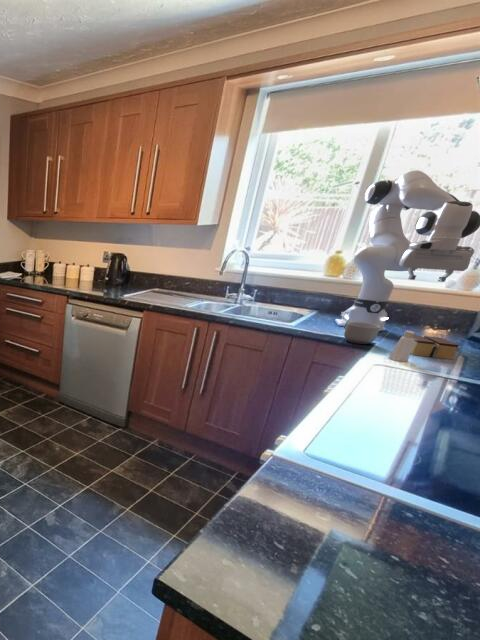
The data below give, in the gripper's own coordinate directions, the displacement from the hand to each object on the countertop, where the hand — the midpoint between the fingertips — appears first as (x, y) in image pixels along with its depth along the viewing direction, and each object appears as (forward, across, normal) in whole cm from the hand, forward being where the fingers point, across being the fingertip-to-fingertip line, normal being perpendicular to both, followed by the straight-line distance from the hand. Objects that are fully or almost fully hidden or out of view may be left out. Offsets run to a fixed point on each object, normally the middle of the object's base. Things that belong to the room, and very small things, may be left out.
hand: (426, 280), depth 173 cm
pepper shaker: (+27, +12, +31) cm, 43 cm away
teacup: (+27, +17, +5) cm, 33 cm away
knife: (+27, -3, +9) cm, 29 cm away
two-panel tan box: (+27, -3, +13) cm, 30 cm away
